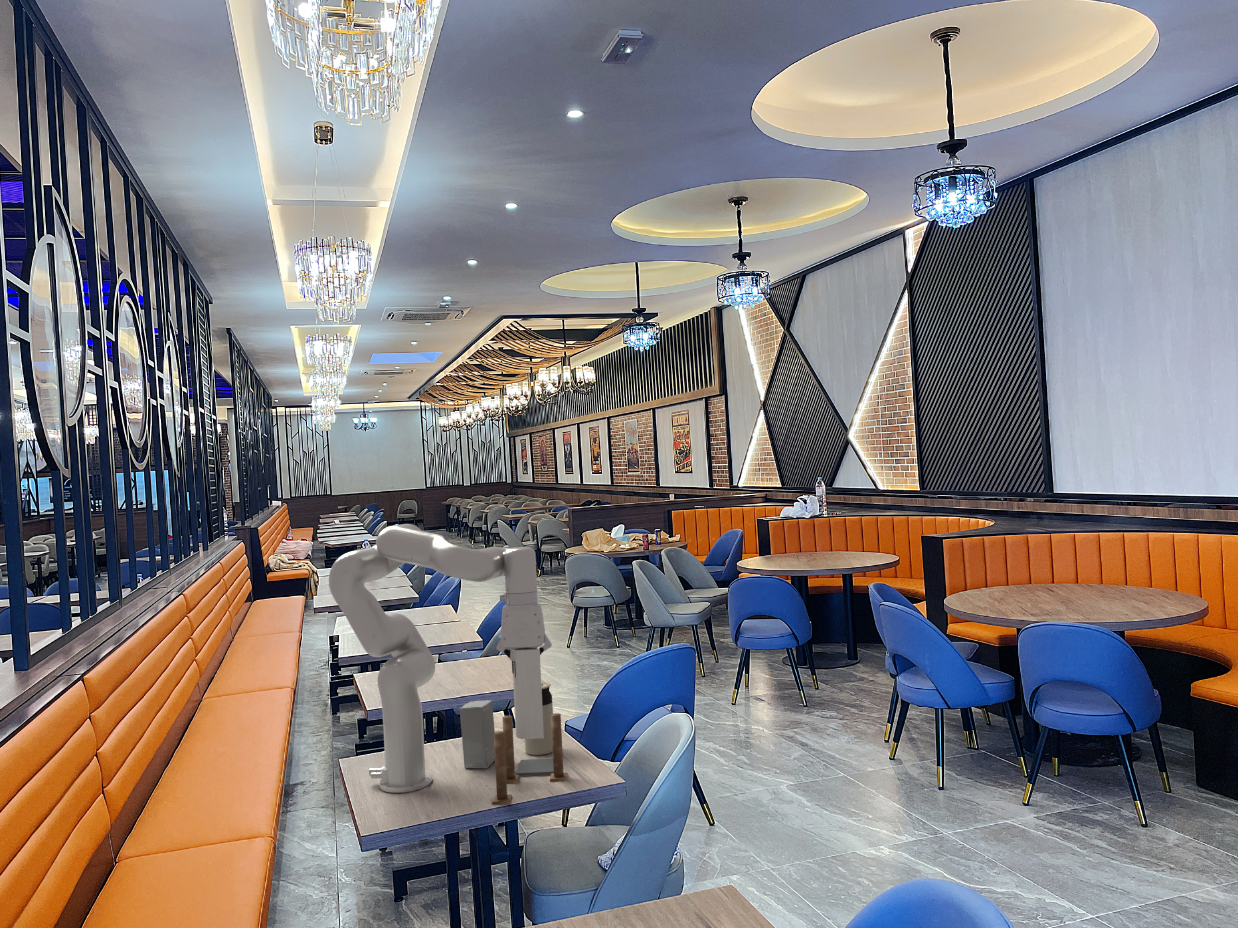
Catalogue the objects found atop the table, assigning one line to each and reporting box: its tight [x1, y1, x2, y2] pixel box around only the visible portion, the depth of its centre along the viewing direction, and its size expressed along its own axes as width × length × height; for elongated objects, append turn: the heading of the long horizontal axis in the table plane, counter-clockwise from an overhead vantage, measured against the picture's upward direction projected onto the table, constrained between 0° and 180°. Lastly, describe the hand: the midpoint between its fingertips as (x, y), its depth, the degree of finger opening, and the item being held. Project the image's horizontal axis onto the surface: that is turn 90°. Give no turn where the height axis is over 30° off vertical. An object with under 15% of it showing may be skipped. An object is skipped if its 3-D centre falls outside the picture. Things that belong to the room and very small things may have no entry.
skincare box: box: [459, 699, 496, 769], centre depth 224 cm, size 8×7×16 cm
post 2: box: [501, 715, 521, 784], centre depth 210 cm, size 4×4×16 cm
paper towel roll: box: [512, 647, 544, 740], centre depth 204 cm, size 7×6×21 cm
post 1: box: [491, 730, 513, 805], centre depth 197 cm, size 4×4×16 cm
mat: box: [515, 757, 554, 777], centre depth 218 cm, size 10×10×1 cm
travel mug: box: [524, 681, 554, 756], centre depth 232 cm, size 8×8×18 cm
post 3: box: [549, 712, 569, 782], centre depth 210 cm, size 4×4×16 cm
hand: (525, 675), depth 204 cm, fingers closed on paper towel roll, 3 cm apart
